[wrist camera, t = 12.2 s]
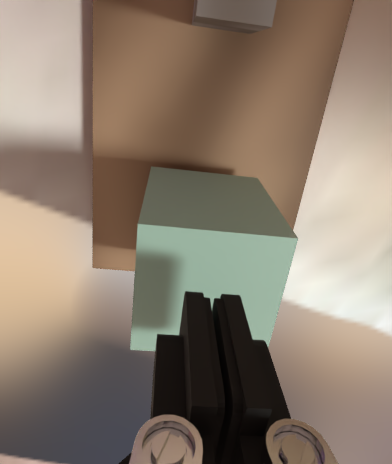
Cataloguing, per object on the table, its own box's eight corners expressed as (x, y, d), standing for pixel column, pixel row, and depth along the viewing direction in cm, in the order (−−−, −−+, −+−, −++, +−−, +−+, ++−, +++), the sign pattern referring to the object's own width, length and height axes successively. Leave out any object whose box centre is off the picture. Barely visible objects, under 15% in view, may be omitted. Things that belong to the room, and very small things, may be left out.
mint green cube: (257, 178, 18) (297, 238, 12) (239, 268, 20) (265, 357, 14) (151, 166, 17) (137, 224, 11) (144, 260, 19) (130, 349, 14)
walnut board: (374, -99, 15) (452, -162, 10) (276, 277, 22) (299, 327, 18) (96, -152, 14) (60, -244, 9) (94, 262, 21) (74, 312, 17)
